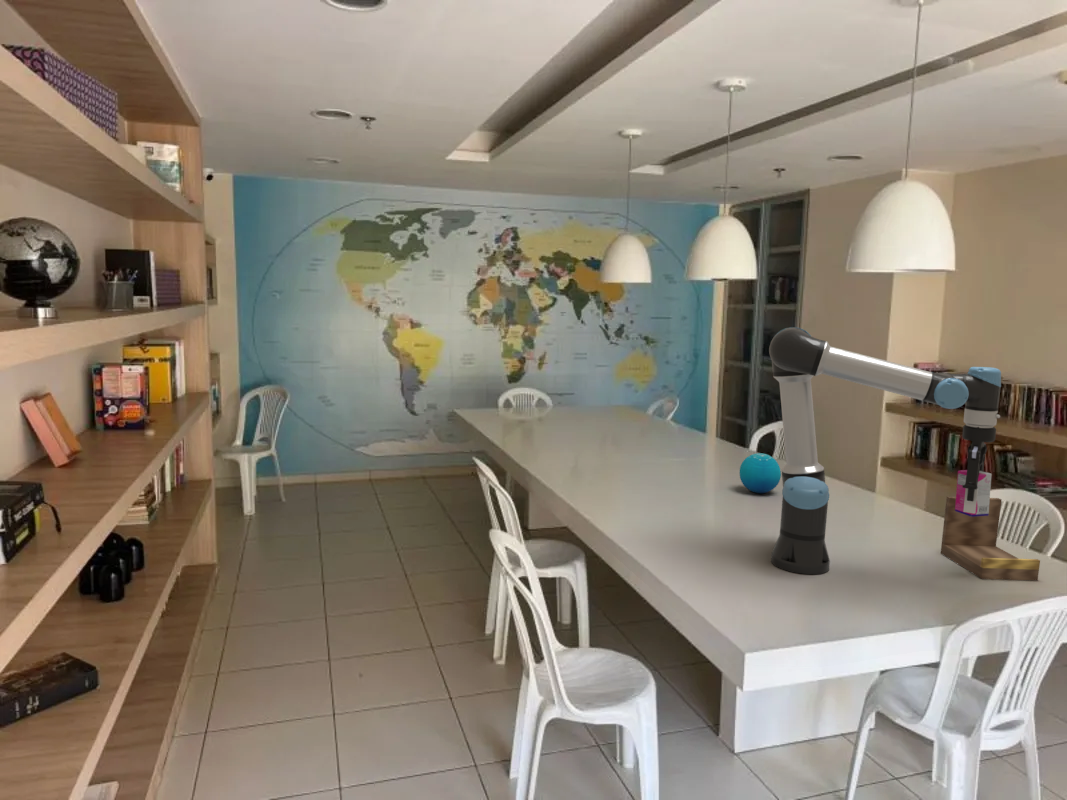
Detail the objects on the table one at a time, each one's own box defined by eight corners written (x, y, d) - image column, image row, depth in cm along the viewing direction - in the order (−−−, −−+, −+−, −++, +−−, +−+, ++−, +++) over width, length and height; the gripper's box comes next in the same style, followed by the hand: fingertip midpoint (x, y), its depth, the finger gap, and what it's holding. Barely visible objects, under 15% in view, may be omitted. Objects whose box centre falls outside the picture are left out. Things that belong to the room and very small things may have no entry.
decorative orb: (774, 488, 287) (777, 450, 285) (783, 498, 272) (786, 458, 270) (734, 486, 289) (737, 448, 287) (741, 496, 274) (744, 456, 272)
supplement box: (971, 509, 203) (975, 468, 202) (989, 515, 198) (993, 473, 196) (953, 510, 202) (957, 469, 201) (970, 517, 196) (975, 474, 195)
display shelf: (981, 578, 198) (988, 517, 195) (940, 553, 217) (946, 496, 215) (1037, 580, 198) (1045, 518, 195) (991, 554, 217) (998, 498, 215)
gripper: (991, 432, 186) (982, 520, 189) (1000, 422, 203) (992, 503, 206) (957, 428, 191) (949, 514, 194) (968, 419, 207) (961, 498, 210)
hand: (971, 508), depth 200 cm, fingers closed on supplement box, 8 cm apart
